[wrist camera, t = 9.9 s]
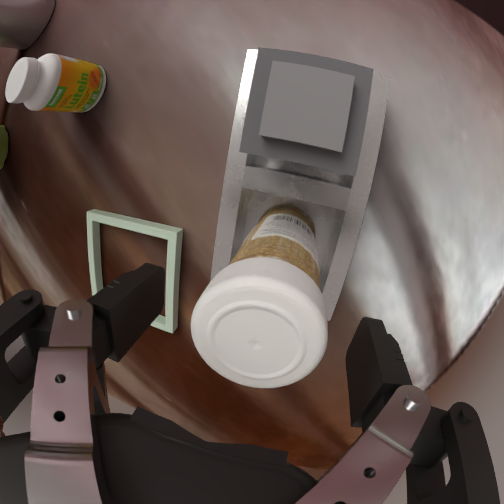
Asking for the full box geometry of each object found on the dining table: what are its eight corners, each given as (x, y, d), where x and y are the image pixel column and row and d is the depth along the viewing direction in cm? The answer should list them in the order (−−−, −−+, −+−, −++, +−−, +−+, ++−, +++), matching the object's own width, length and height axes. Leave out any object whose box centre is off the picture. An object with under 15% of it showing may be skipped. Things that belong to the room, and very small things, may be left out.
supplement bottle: (94, 119, 21) (16, 118, 12) (67, 105, 21) (-4, 104, 12) (115, 69, 19) (40, 51, 10) (86, 61, 19) (17, 47, 10)
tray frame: (99, 297, 28) (93, 301, 27) (94, 208, 24) (86, 211, 23) (177, 327, 27) (172, 333, 26) (183, 228, 23) (177, 232, 22)
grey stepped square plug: (269, 154, 19) (235, 151, 10) (281, 93, 17) (255, 42, 8) (335, 168, 18) (357, 178, 10) (346, 106, 17) (376, 64, 8)
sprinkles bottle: (244, 235, 21) (163, 338, 9) (283, 191, 20) (243, 245, 7) (289, 273, 22) (262, 409, 9) (329, 232, 20) (359, 344, 8)
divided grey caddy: (224, 270, 23) (209, 291, 20) (259, 67, 17) (247, 49, 14) (328, 295, 22) (330, 321, 19) (375, 91, 16) (390, 77, 12)
